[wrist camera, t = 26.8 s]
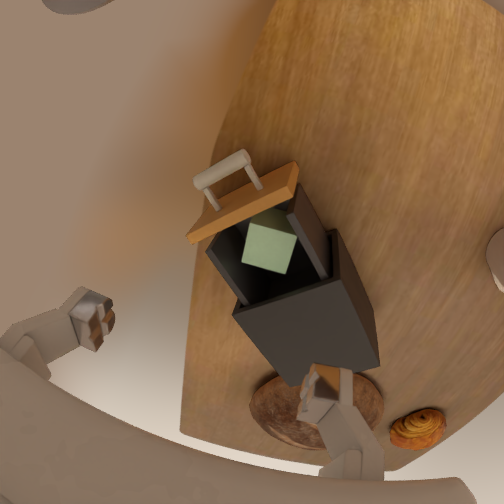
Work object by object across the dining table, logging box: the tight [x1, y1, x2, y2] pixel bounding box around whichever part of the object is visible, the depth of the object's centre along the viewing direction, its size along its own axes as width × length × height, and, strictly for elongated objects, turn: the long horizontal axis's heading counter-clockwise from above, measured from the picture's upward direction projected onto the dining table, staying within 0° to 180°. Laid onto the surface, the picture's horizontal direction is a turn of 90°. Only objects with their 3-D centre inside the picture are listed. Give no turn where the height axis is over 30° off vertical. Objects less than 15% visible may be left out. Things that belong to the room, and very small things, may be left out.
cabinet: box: [232, 229, 380, 387], centre depth 38 cm, size 15×13×11 cm
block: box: [242, 208, 297, 274], centre depth 34 cm, size 5×5×5 cm
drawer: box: [186, 149, 333, 307], centre depth 33 cm, size 18×11×9 cm, turn 31°
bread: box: [249, 373, 384, 450], centre depth 52 cm, size 26×27×10 cm
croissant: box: [390, 409, 447, 451], centre depth 54 cm, size 14×16×8 cm
